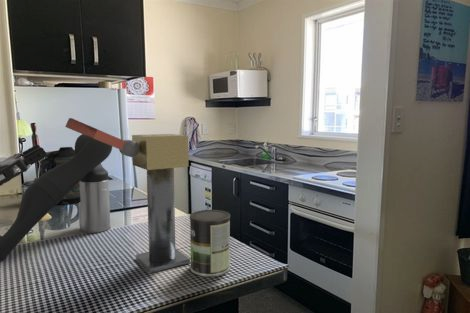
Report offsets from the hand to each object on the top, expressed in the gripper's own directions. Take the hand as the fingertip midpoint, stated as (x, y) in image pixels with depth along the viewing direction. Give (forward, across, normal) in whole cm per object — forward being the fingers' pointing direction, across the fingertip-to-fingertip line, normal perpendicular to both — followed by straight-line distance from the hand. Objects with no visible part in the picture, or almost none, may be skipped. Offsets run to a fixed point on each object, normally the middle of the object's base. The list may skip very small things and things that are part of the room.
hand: (42, 149), depth 77 cm
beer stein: (-2, -90, -36) cm, 97 cm away
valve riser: (+8, 0, -41) cm, 42 cm away
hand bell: (-14, -64, -29) cm, 71 cm away
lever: (+11, 0, -6) cm, 12 cm away
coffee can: (+15, +11, -45) cm, 49 cm away
